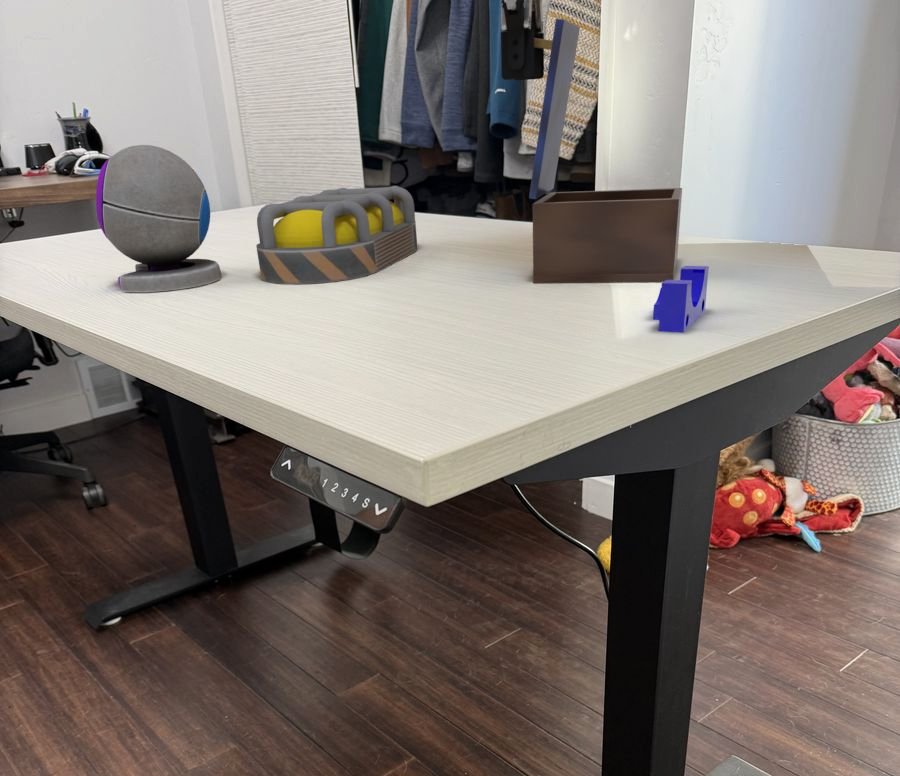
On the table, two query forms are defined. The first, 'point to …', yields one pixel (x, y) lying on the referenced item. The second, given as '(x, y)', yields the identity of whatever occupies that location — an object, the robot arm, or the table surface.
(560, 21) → the lid
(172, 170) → the grey ball on stand
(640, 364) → the table surface
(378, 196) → the cage light
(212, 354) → the table surface
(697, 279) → the cable holder
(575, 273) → the chest
